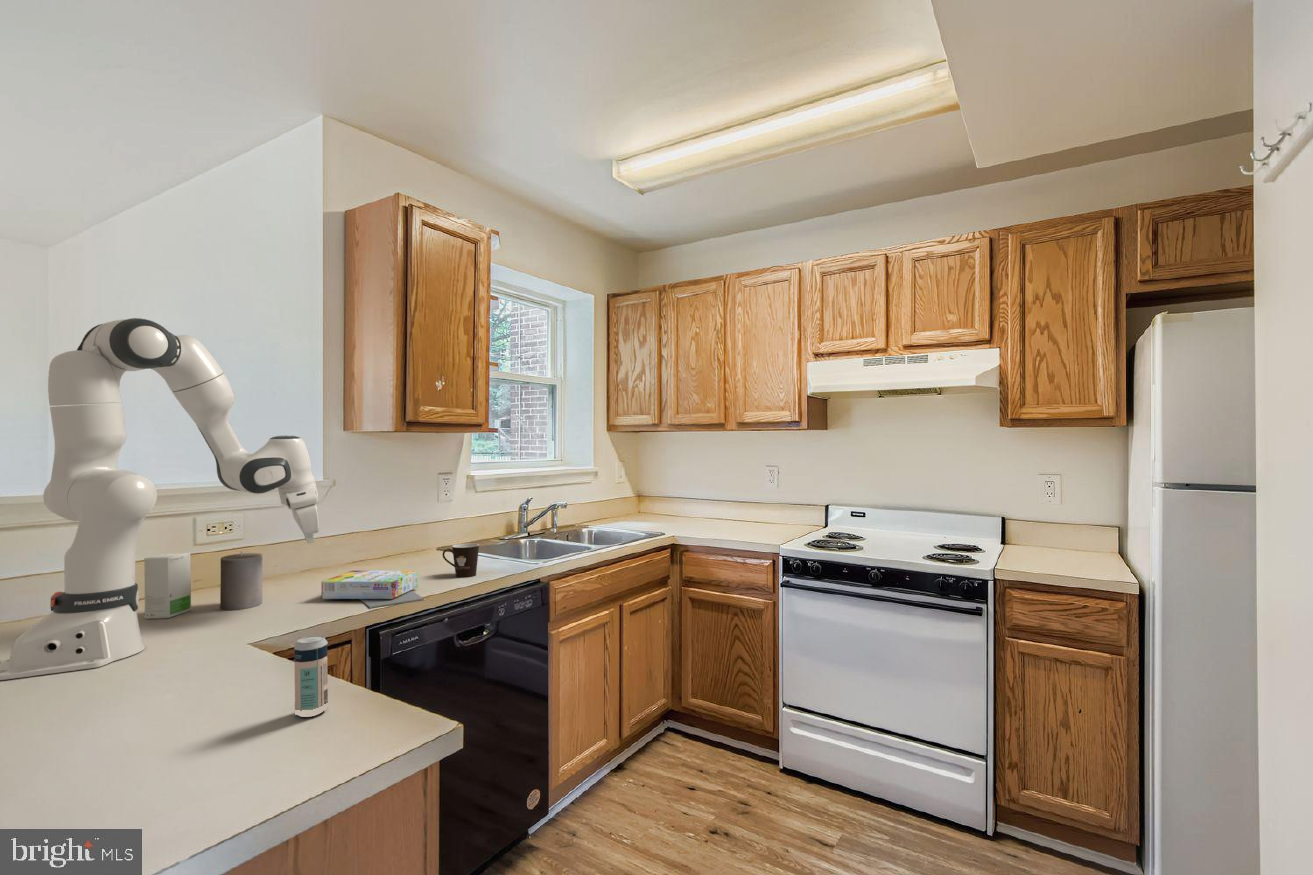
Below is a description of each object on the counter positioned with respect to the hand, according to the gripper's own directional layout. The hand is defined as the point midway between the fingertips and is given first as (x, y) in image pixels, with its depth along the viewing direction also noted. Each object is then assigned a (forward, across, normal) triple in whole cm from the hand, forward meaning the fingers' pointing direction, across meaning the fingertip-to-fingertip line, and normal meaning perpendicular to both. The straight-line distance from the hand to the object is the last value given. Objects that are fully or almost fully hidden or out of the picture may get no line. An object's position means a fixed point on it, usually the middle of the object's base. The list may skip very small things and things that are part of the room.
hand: (310, 541), depth 167 cm
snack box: (+15, +6, +7) cm, 18 cm away
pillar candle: (+16, -10, -18) cm, 26 cm away
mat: (+20, +8, +15) cm, 26 cm away
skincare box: (+13, -12, -34) cm, 38 cm away
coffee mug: (+28, -8, +41) cm, 51 cm away
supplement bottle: (+4, +79, -12) cm, 80 cm away
